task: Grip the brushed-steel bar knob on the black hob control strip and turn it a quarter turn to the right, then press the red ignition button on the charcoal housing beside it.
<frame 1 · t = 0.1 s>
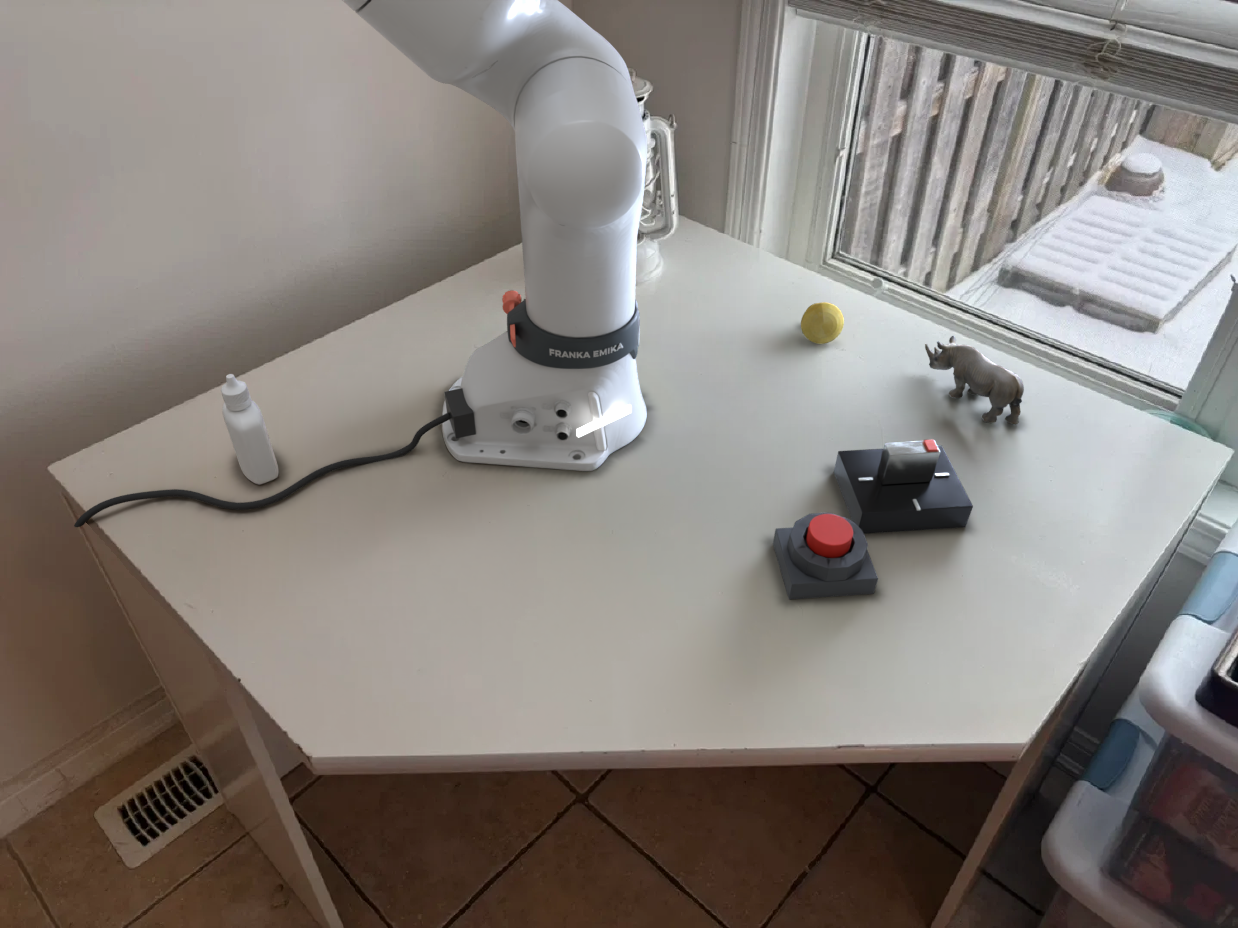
knob: (817, 336, 120), on the table
rhino figurine: (964, 396, 112), on the table
igniter: (822, 568, 92), on the table
ignite button: (829, 535, 89), point 4 cm above the table, slide at 0.1 cm
hob panel: (897, 499, 99), on the table
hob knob: (908, 461, 95), point 5 cm above the table, hinge at 0.0°
eye dropper bottle: (260, 469, 101), on the table
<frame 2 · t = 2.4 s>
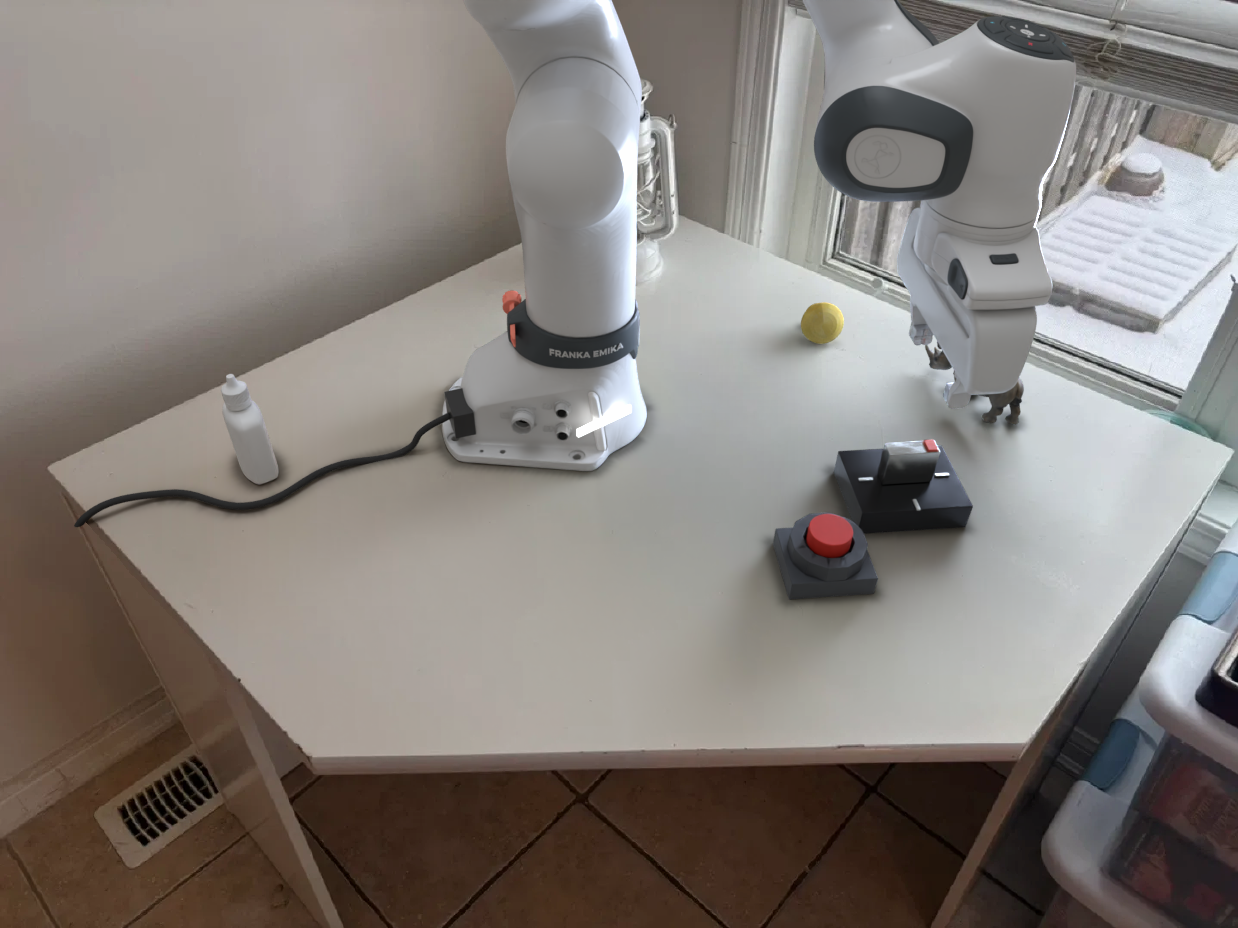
hand: (936, 370, 88), 16 cm above the table, tool pointing down, fingers open, 8 cm apart
nothing on the table moved.
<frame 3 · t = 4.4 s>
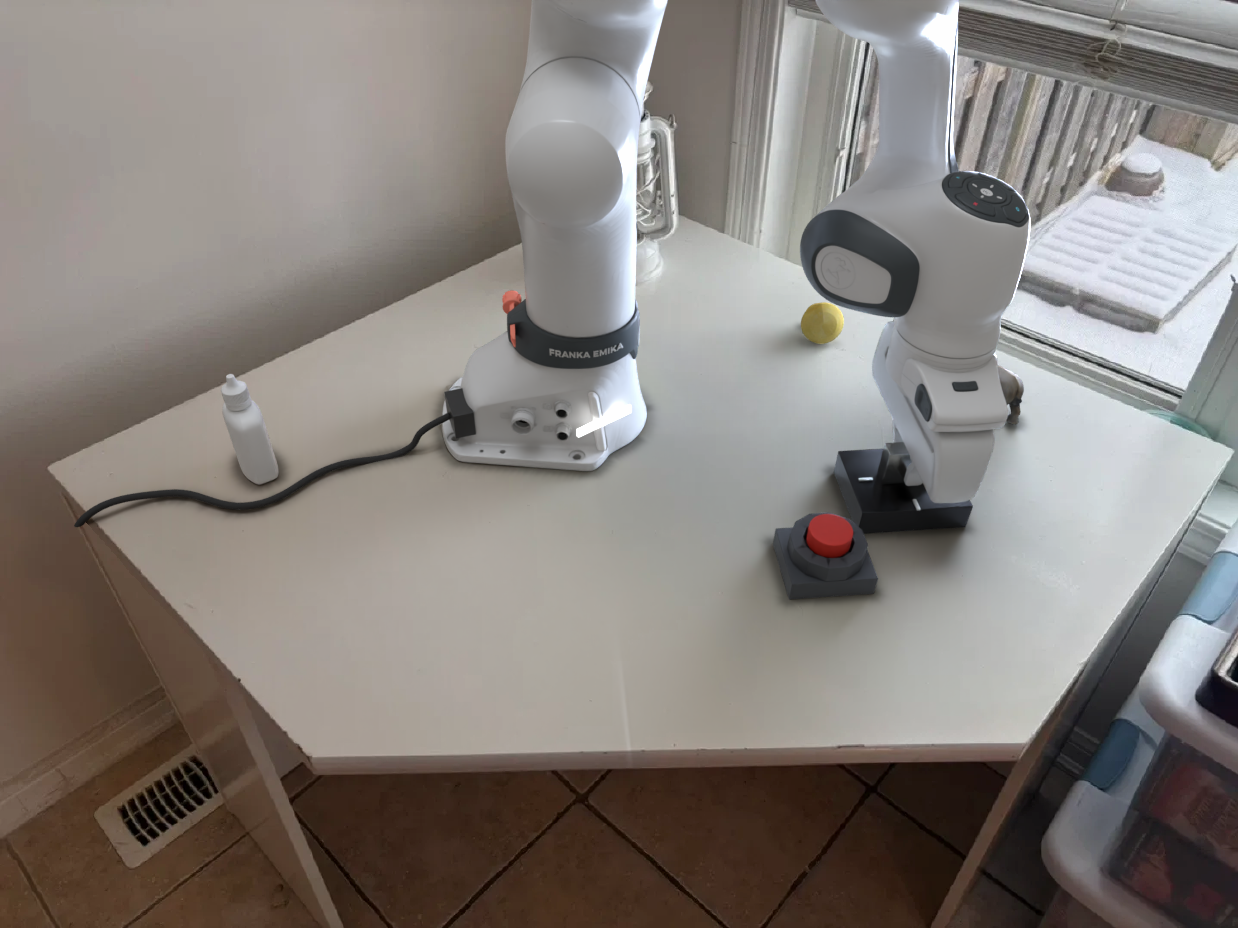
hand: (906, 469, 96), 4 cm above the table, tool pointing down, fingers closed on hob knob, 2 cm apart
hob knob: (908, 461, 95), point 5 cm above the table, hinge at 0.0°, touching gripper
everything else where it was.
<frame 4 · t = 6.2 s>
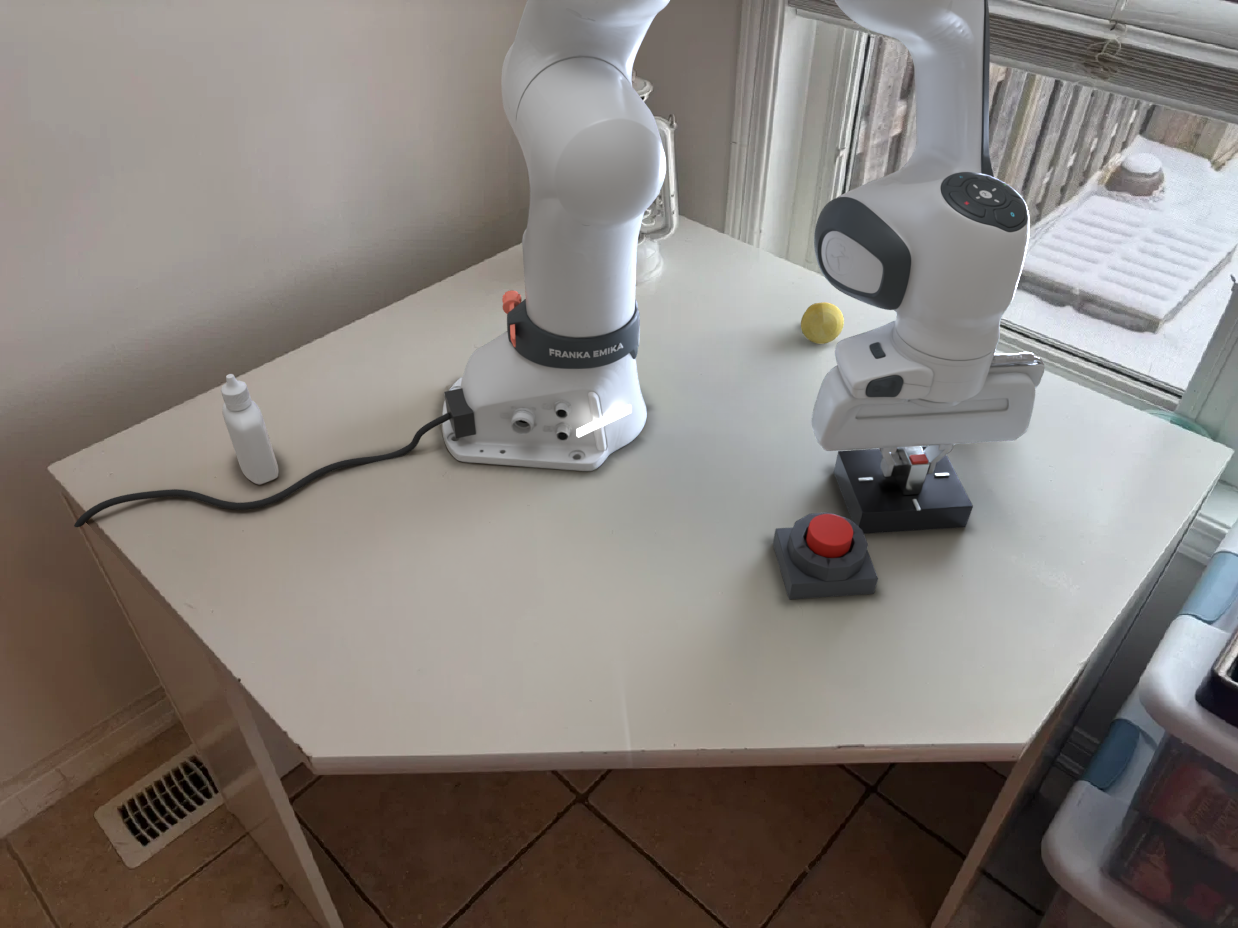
hand: (905, 471, 96), 4 cm above the table, tool pointing down, fingers closed
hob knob: (908, 461, 95), point 5 cm above the table, hinge at -89.9°
everything else where it was.
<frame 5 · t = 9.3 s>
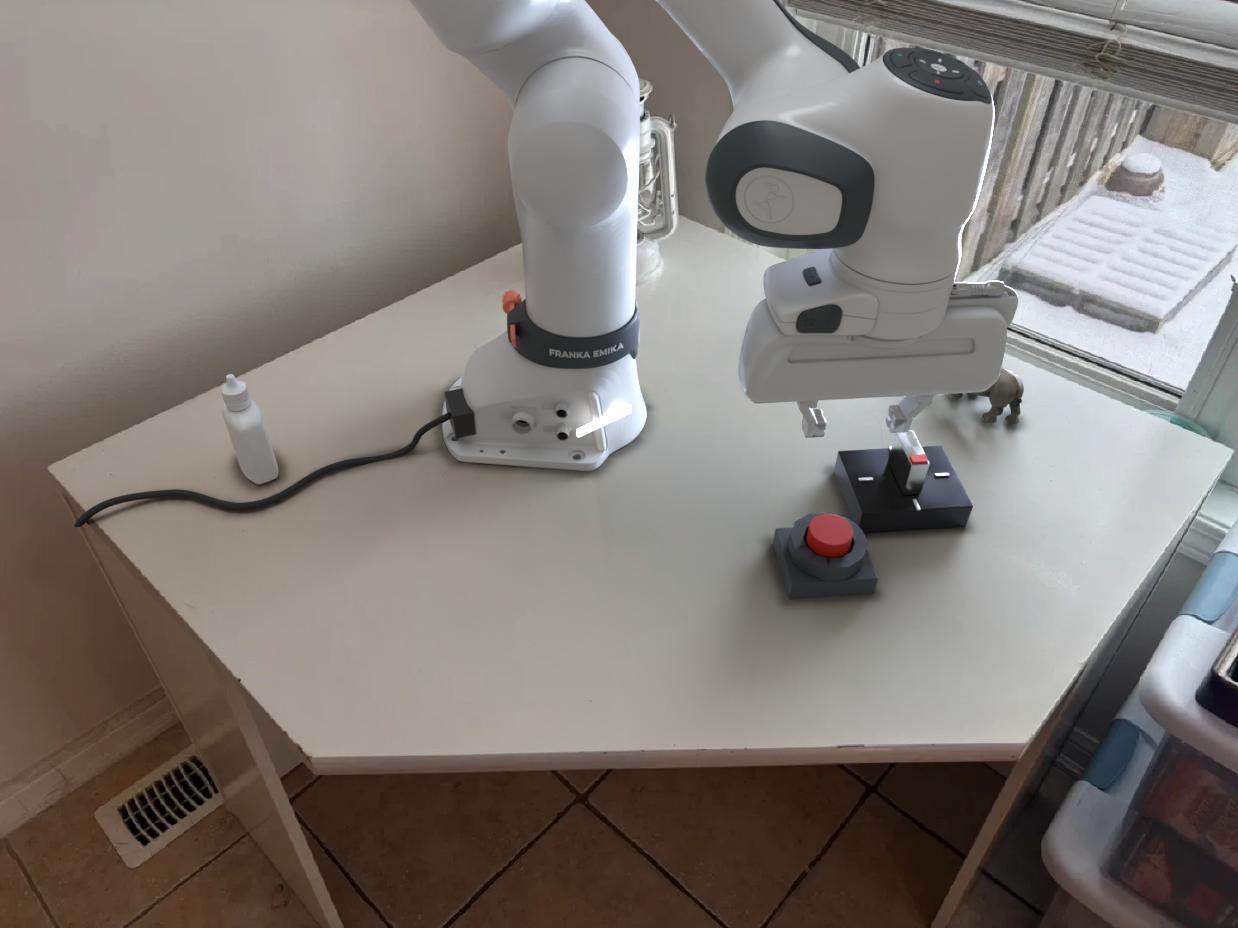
hand: (854, 430, 80), 17 cm above the table, tool pointing down, fingers open, 6 cm apart
nothing on the table moved.
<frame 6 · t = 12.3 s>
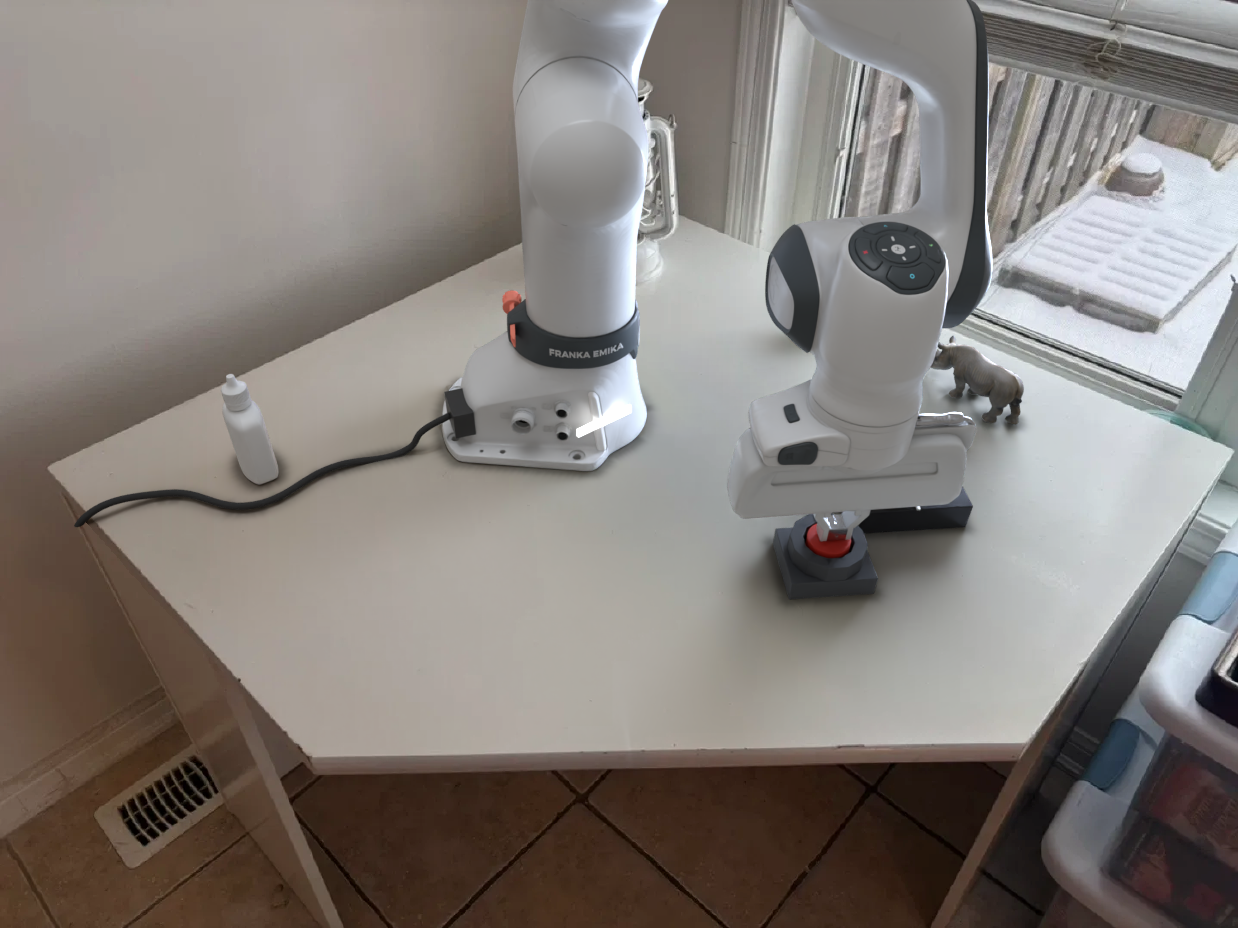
hand: (832, 535, 89), 4 cm above the table, tool pointing down, fingers closed, pressing on ignite button
ignite button: (827, 543, 90), point 3 cm above the table, slide at -1.0 cm, touching gripper
everything else where it was.
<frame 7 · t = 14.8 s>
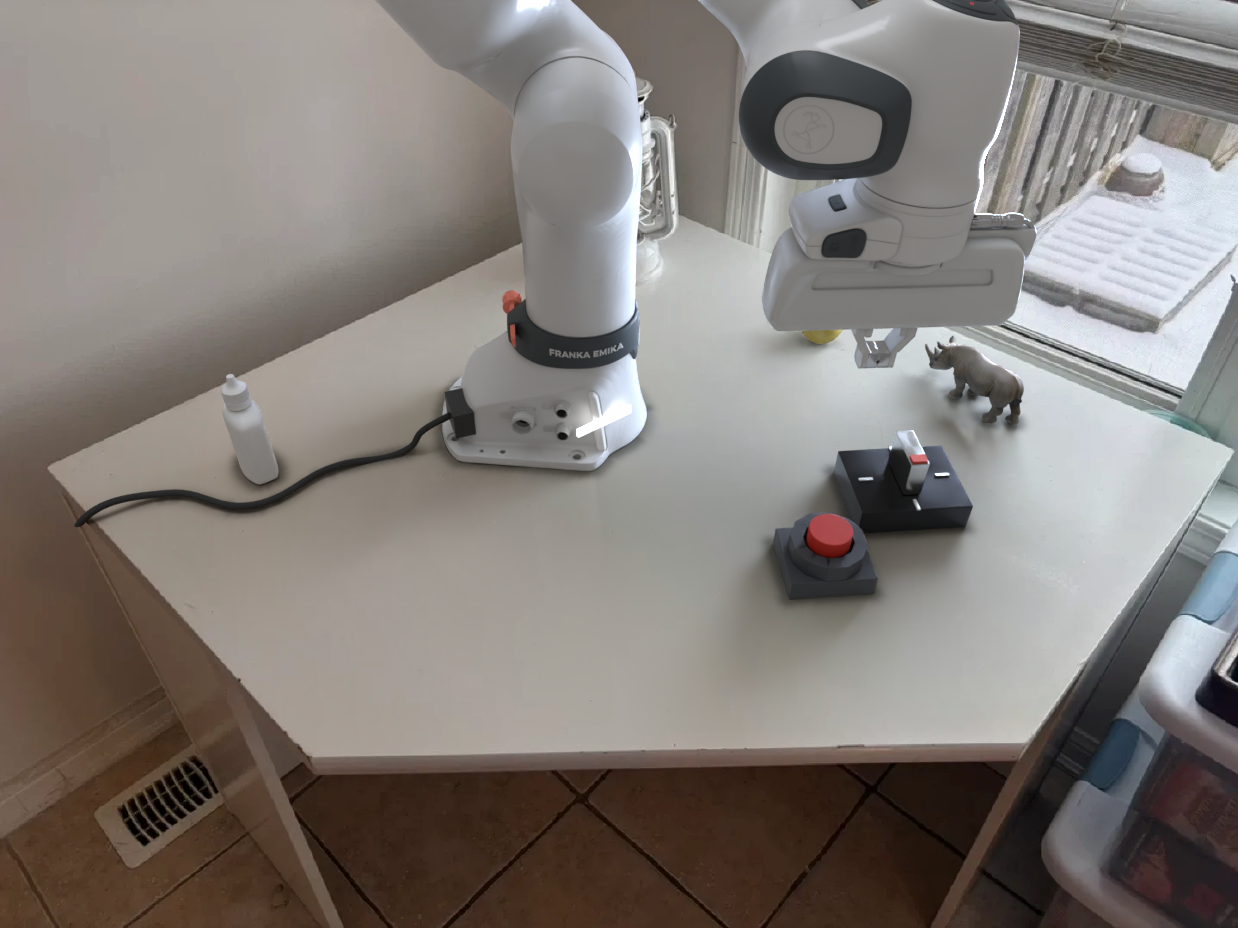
hand: (872, 364, 82), 20 cm above the table, tool pointing down, fingers closed
ignite button: (829, 535, 89), point 4 cm above the table, slide at 0.1 cm
everything else where it was.
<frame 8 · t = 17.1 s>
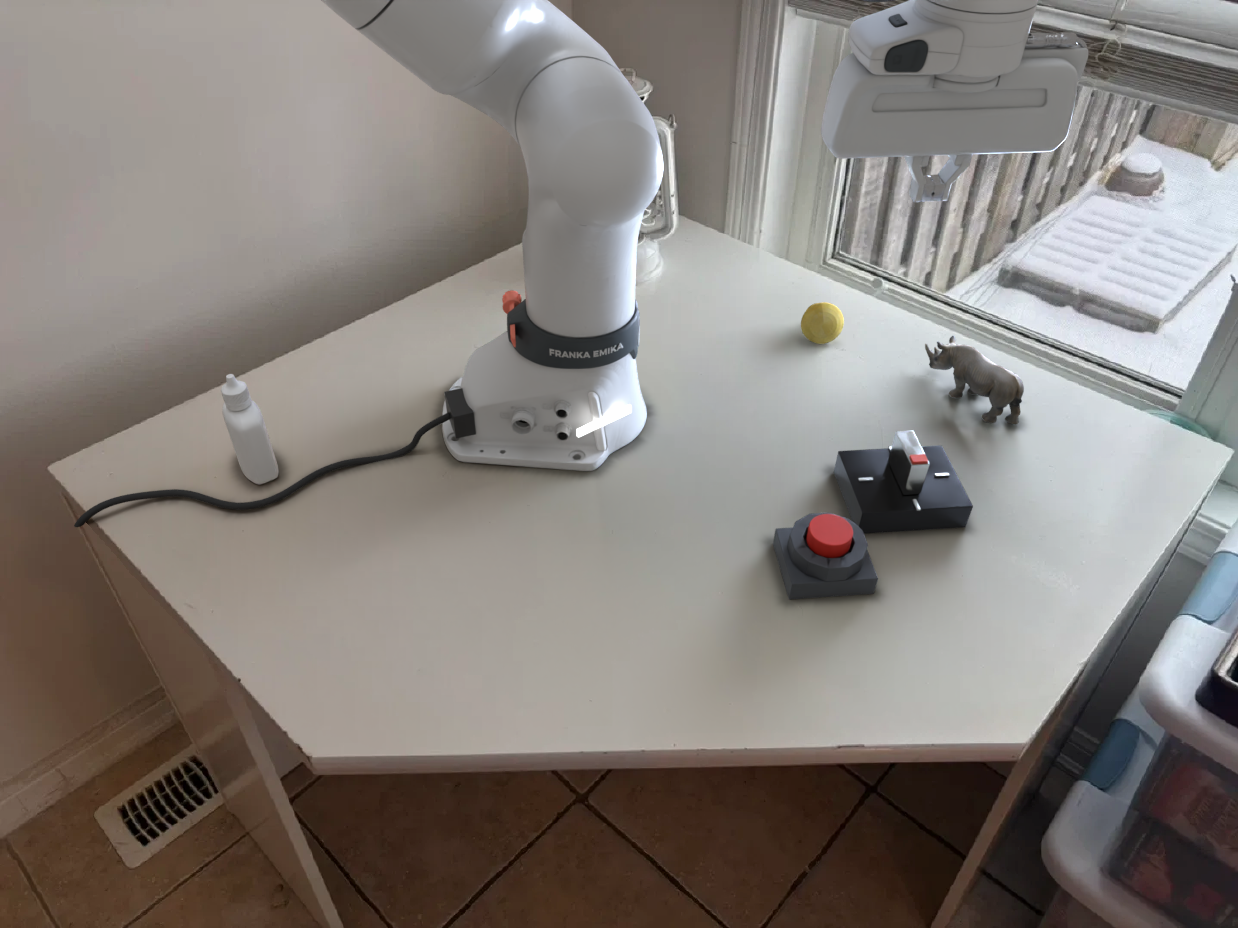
hand: (927, 198, 85), 29 cm above the table, tool pointing down, fingers closed
nothing on the table moved.
at the end: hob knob at -90° (first picture: +0°); ignite button pushed in 1.0 cm at the most during the clip, back to where it started at the end; ignite button slide at 0.1 cm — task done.
